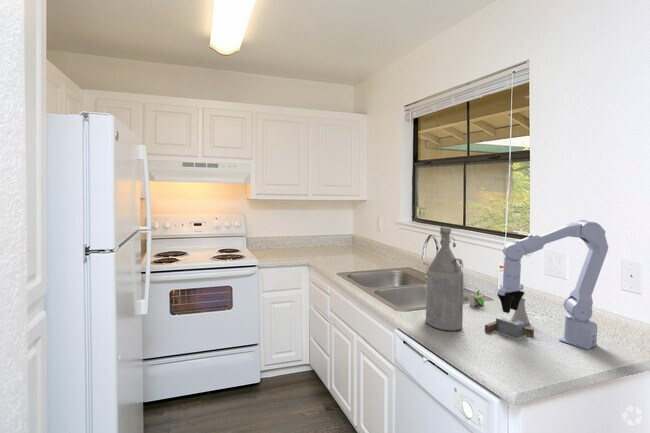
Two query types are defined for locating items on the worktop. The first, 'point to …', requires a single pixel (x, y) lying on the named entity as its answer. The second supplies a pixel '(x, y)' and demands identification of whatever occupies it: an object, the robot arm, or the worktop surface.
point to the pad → (511, 336)
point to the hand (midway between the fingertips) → (510, 310)
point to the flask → (520, 313)
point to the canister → (445, 287)
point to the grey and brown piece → (492, 327)
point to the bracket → (510, 327)
